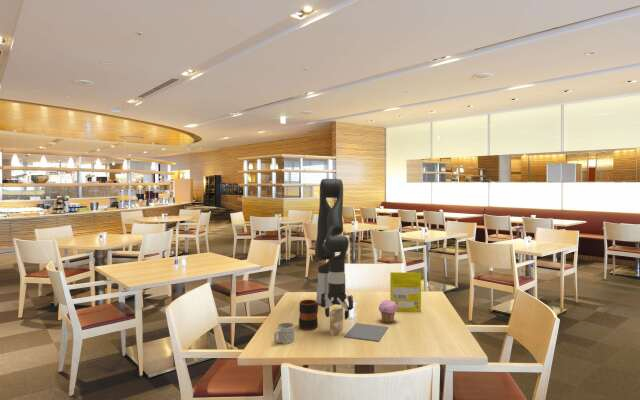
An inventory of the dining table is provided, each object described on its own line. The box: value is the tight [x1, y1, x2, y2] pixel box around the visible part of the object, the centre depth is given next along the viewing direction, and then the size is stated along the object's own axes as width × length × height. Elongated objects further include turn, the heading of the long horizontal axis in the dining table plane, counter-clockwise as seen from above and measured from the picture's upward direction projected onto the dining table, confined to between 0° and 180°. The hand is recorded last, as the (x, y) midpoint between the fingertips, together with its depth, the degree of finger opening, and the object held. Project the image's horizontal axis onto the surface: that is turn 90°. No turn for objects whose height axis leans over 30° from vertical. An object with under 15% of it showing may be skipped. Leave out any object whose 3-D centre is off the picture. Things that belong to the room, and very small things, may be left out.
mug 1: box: [273, 322, 295, 345], centre depth 179 cm, size 10×7×7 cm
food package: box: [389, 271, 422, 313], centre depth 219 cm, size 15×1×20 cm, turn 84°
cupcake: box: [378, 299, 398, 323], centre depth 204 cm, size 9×9×10 cm
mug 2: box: [298, 299, 319, 331], centre depth 198 cm, size 9×12×12 cm
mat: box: [343, 322, 389, 343], centre depth 190 cm, size 15×18×1 cm
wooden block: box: [329, 306, 344, 336], centre depth 190 cm, size 3×8×10 cm, turn 159°
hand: (337, 317), depth 190 cm, fingers open, 8 cm apart
